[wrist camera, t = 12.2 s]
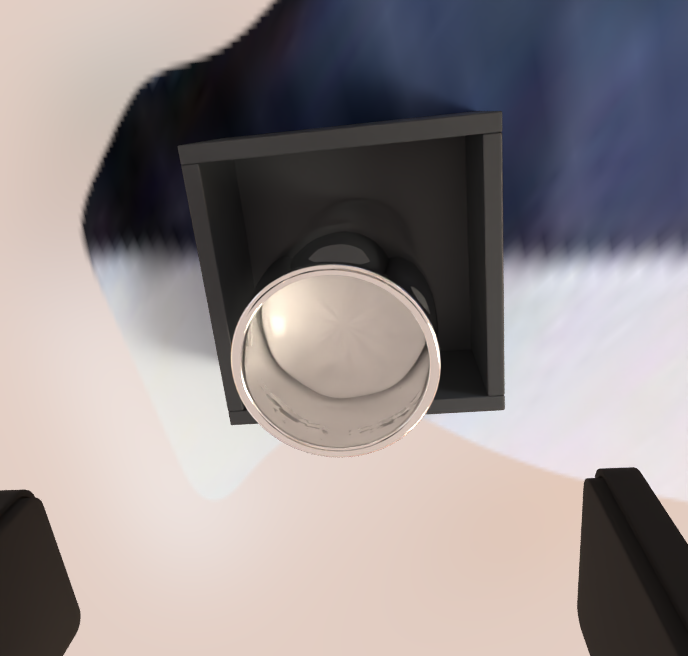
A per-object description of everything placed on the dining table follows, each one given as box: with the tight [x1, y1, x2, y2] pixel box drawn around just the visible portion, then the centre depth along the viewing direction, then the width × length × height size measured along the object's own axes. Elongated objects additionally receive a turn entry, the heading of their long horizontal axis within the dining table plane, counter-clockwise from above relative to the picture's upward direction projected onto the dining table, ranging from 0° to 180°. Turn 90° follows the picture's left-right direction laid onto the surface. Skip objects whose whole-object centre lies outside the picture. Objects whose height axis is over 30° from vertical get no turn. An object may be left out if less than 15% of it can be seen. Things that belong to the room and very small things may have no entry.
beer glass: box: [231, 199, 441, 457], centre depth 25 cm, size 7×7×15 cm
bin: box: [178, 111, 505, 425], centre depth 30 cm, size 14×14×7 cm
